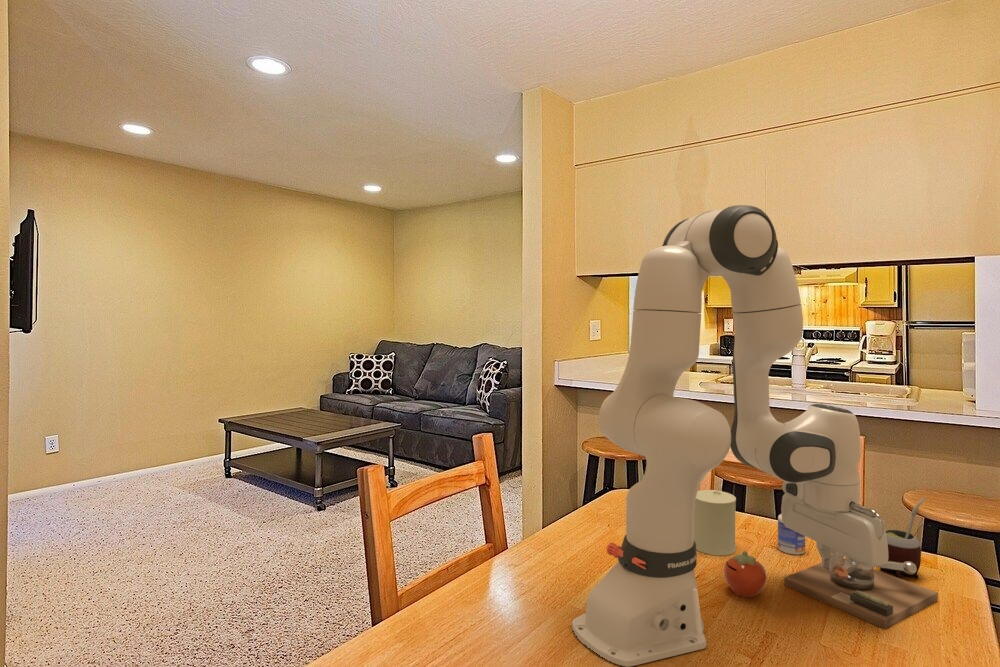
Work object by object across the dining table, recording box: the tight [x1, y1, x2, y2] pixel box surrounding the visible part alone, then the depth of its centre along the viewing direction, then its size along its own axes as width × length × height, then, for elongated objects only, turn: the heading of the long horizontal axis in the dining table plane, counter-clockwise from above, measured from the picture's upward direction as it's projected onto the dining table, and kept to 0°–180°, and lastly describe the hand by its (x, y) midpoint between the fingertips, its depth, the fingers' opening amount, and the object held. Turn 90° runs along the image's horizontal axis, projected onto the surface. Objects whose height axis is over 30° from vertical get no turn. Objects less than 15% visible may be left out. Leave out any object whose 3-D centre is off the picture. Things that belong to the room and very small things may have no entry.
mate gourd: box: [879, 497, 926, 579], centre depth 116 cm, size 8×8×15 cm
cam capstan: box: [829, 548, 917, 590], centre depth 107 cm, size 16×14×6 cm
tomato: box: [723, 550, 767, 599], centre depth 109 cm, size 7×7×8 cm
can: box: [694, 489, 737, 557], centre depth 129 cm, size 9×9×12 cm
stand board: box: [783, 557, 939, 630], centre depth 108 cm, size 18×18×4 cm
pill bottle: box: [777, 505, 806, 556], centre depth 127 cm, size 5×5×10 cm
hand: (830, 569), depth 105 cm, fingers closed
